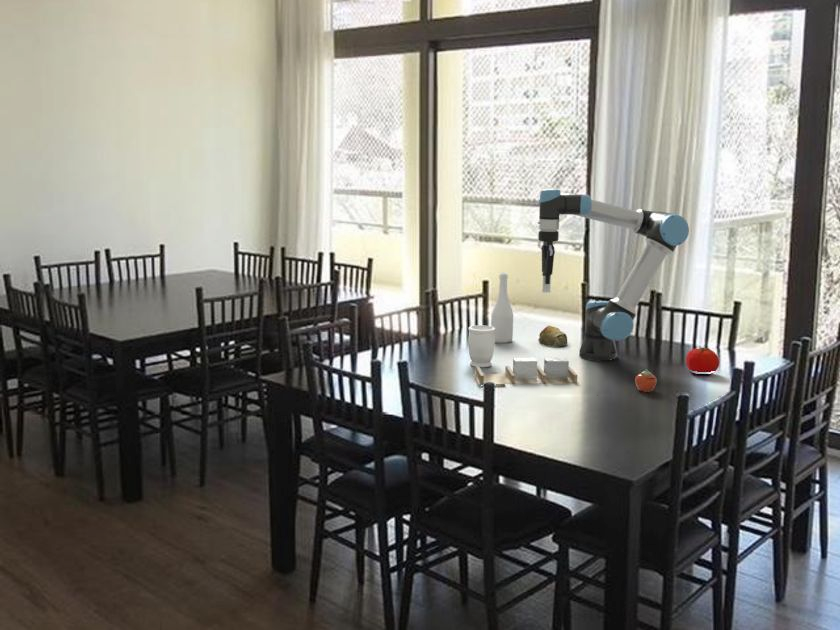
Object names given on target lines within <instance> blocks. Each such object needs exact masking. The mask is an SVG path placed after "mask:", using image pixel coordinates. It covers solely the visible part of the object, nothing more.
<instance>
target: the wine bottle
mask: <svg viewBox="0 0 840 630" xmlns="http://www.w3.org/2000/svg"><path fill="white" fill-rule="evenodd" d="M498 278H499V285H498V287H499V288H498V293H497V294H498V295H497V297H496V300H495V303H494V306H493V309H492V310H491V311H492V312H491V315H490V316H491V317H490V319H491V320H490V324H491V325H490V326H492V327H494V328H495V331H494V337H495V343H498V344H508V343H512V341H513V337H514V336H513V335H514V334H513V333H514V313H513V308H512V306H511V302H510V299H509V294H508V278H509V274H508V273H506V272H500V273H499V275H498Z"/></svg>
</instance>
